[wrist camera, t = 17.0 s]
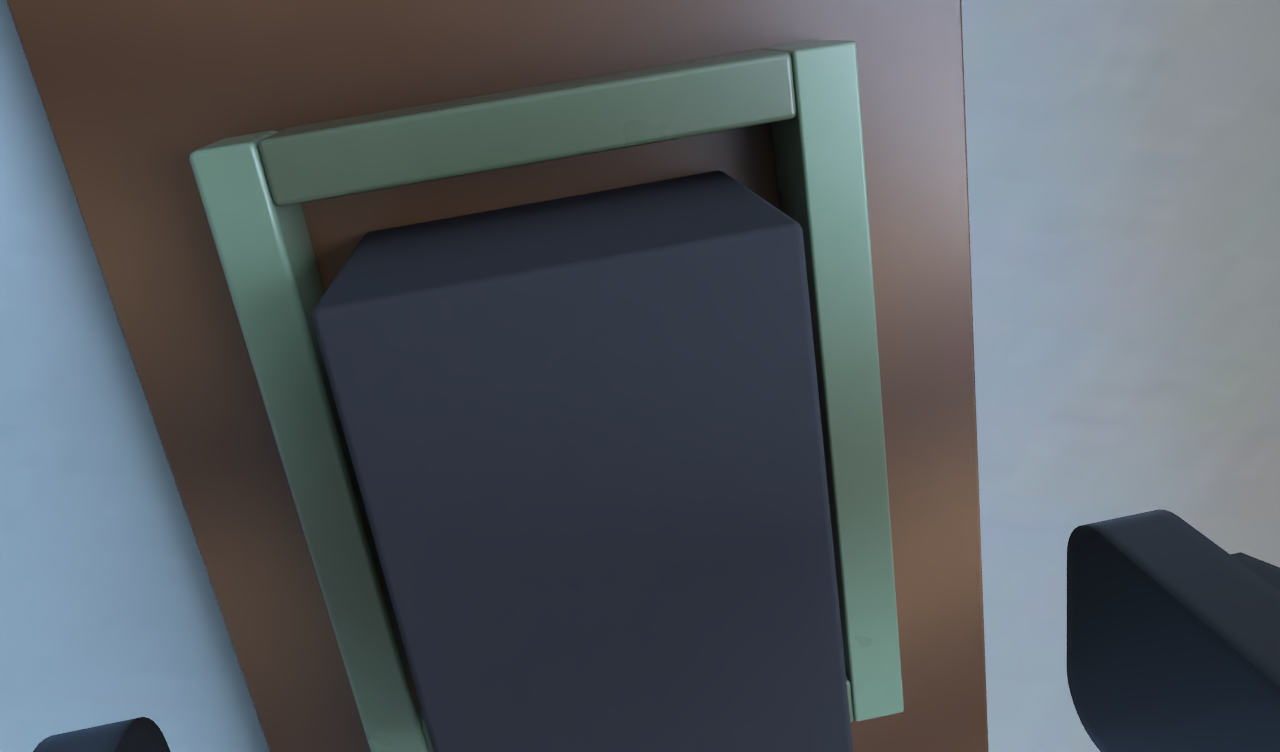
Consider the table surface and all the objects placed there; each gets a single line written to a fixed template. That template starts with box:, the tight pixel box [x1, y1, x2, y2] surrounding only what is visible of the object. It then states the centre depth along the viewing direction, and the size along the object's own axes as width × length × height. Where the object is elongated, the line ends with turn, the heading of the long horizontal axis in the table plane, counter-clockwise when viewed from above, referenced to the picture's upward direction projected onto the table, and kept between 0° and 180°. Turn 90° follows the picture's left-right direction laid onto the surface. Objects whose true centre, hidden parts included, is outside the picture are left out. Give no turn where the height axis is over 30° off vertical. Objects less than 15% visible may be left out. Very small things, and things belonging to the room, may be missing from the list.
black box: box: [312, 171, 853, 752], centre depth 13 cm, size 7×5×4 cm
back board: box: [6, 0, 988, 752], centre depth 15 cm, size 16×12×2 cm
